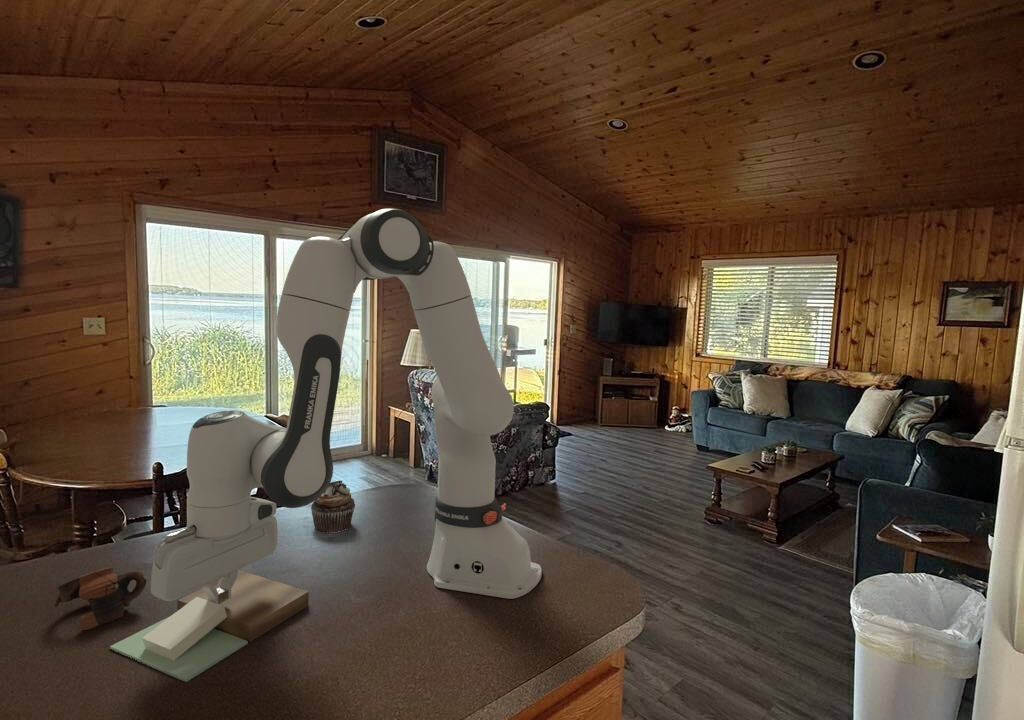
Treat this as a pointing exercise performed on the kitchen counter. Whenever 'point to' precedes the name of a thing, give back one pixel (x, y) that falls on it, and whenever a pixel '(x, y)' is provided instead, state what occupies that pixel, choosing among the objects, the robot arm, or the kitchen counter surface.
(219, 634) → the mat
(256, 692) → the kitchen counter surface
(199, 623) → the cream rectangular block
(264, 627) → the board
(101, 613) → the pottery mug
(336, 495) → the cupcake
